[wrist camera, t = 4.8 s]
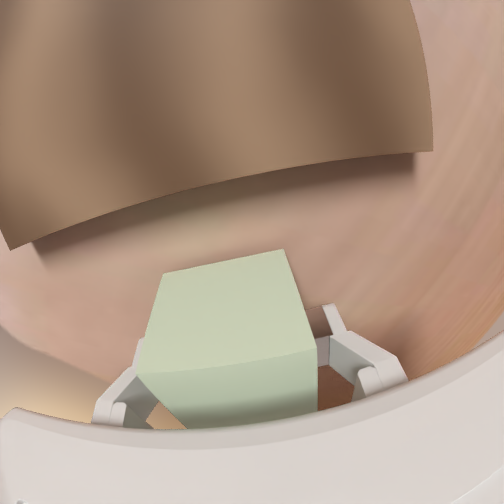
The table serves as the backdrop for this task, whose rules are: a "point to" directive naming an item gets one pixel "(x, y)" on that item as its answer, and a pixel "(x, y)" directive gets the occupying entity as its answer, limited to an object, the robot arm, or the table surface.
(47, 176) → the serving board
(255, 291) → the cube
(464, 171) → the table surface
